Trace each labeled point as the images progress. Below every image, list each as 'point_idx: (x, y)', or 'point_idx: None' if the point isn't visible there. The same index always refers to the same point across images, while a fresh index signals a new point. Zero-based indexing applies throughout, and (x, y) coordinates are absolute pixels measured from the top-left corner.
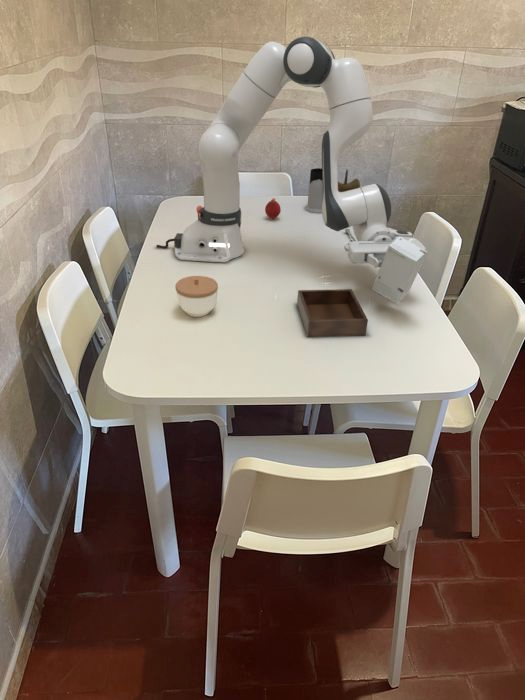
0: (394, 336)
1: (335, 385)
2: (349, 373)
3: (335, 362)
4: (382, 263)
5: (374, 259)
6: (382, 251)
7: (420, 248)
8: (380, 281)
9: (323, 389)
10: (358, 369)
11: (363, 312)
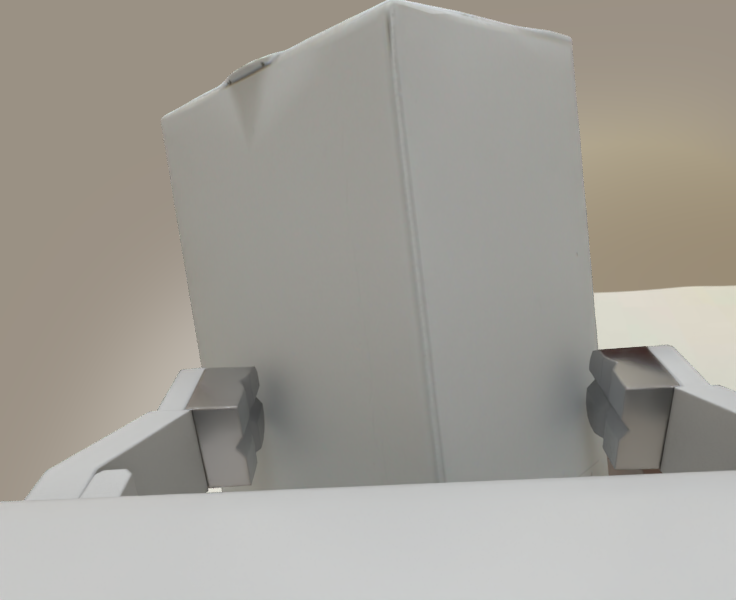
0: None
1: (668, 302)
2: (635, 330)
3: (698, 360)
4: (588, 305)
5: (711, 395)
6: (613, 475)
7: (208, 93)
8: None
9: (698, 294)
10: (608, 341)
11: (646, 470)
